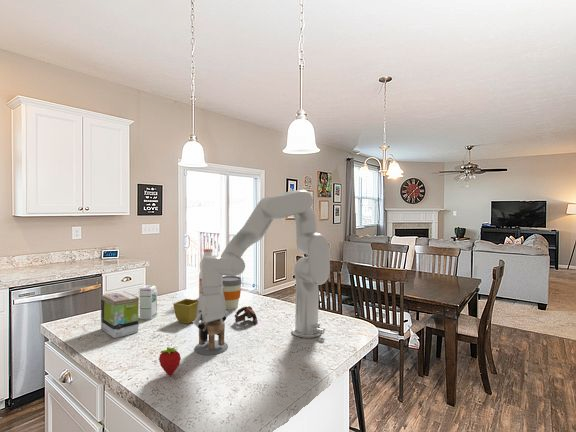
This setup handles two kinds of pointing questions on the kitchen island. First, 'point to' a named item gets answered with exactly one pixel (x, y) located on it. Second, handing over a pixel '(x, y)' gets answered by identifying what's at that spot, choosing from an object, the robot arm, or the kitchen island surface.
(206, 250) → the white plastic bottle
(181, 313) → the flower pot
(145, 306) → the syrup box
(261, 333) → the kitchen island surface
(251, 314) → the brown curved piece
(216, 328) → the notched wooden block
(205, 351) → the mat
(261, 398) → the kitchen island surface
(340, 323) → the kitchen island surface
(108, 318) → the tea box
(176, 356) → the strawberry
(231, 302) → the reusable coffee cup
